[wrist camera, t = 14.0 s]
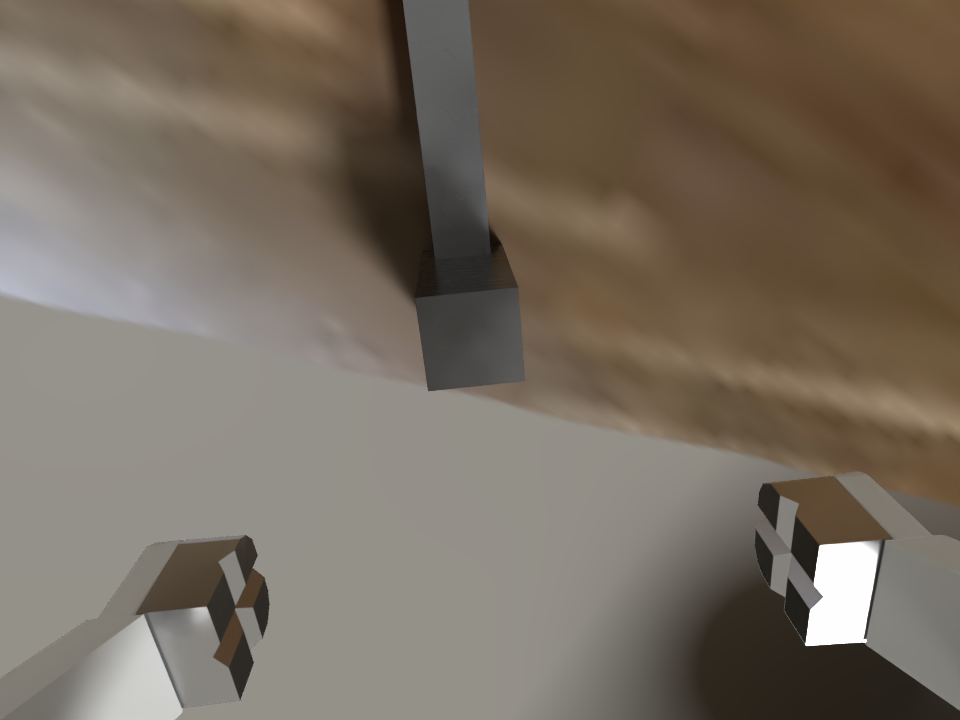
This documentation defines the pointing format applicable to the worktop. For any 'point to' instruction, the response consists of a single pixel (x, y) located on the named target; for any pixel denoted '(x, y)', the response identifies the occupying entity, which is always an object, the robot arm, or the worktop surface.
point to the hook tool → (458, 214)
